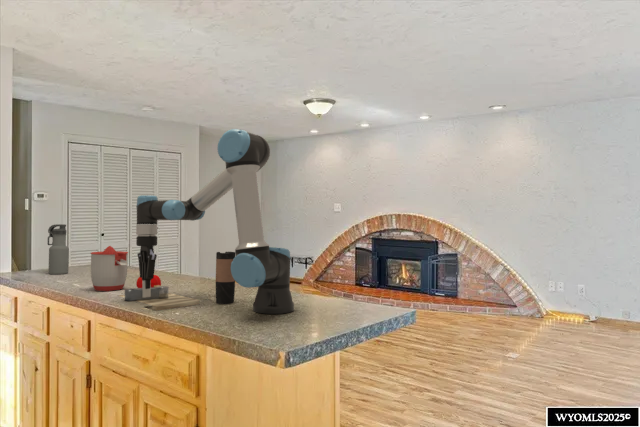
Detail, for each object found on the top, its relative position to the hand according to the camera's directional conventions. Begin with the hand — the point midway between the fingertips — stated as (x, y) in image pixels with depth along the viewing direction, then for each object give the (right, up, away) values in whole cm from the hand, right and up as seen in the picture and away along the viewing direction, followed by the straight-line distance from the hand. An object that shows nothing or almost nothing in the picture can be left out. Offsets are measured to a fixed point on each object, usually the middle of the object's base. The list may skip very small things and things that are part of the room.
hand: (146, 296), depth 173 cm
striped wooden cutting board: (+2, -3, +6) cm, 7 cm away
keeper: (0, -1, +14) cm, 14 cm away
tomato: (-9, -3, +27) cm, 28 cm away
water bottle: (-82, -2, +83) cm, 117 cm away
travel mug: (+29, -4, +6) cm, 30 cm away
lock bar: (-1, -1, +3) cm, 3 cm away
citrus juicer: (-29, -3, +32) cm, 43 cm away
